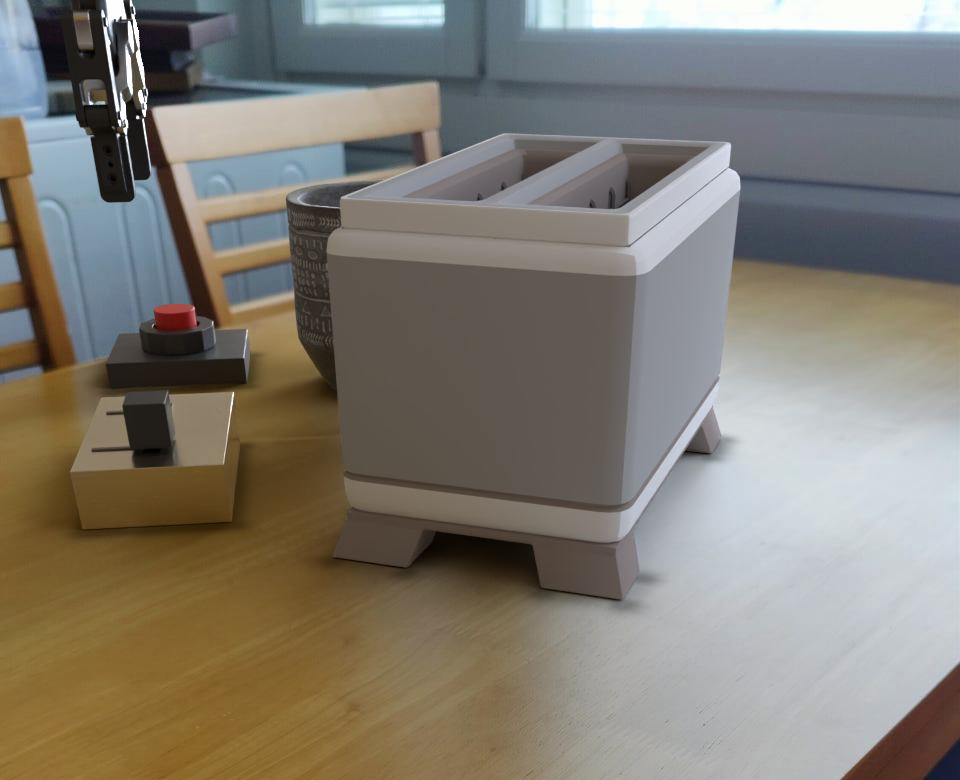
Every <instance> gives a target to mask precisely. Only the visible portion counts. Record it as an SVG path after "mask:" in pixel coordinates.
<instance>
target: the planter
mask: <svg viewBox="0 0 960 780" xmlns="http://www.w3.org/2000/svg"><path fill="white" fill-rule="evenodd" d="M384 180H385V179H371V180H369V179H367V180H354V181H353V180H352V181H342V182H331V183H322V184H313V185H309V186H305V187H301V188H298V189H296V190H293V191H291V192H289V193H288V194H287V195H286V196H285V205H286V215H287V223H288V227H287V228H288V242H289V243H288V244H289V255H290V256H289V257H290V266H291V274H292V275H291V276H292V282H293V283H292V284H293V288H294V289H293V295H294V299H293V300H294V312H295V323H296V331H297V338H298V340H299V342H300V344H301V346H302V348H303V349H304V351H305V353H306V354H307V356H308V357H309V359H310V360H311V362H312V364H313V365H314V367H315V368H316V369H317V371H318V372H319V375H320V376H322V378H323V379H324V381H325V382H326V384H327V385H328V386H329V388H330V389H332V390H334V391H336V392H337V381H336V368H335V355H334V342H333V329H332V316H331V303H330V290H329V277H328V264H327V243H328V238H329V236H330V235H331V233H332V232H333V231H334V230H336V229H338V228H340V227H342V226H341V213H340V199H341V197H343V196H345V195H348V194H350V193H353V192H356V191H358V190H361V189H363V188H366V187H368V186H371V185H373V184H376V183H378V182H381V181H384Z"/></svg>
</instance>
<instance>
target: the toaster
mask: <svg viewBox="0 0 960 780" xmlns="http://www.w3.org/2000/svg"><path fill="white" fill-rule="evenodd" d="M731 151H732V144H731V142H729V141H728V142H727V141H706V140H704V141H703V140H682V139H680V140H679V139H656V138H655V139H654V138H631V137H630V138H629V137H608V136H581V135H557V134H556V135H554V134H529V133H501V134H498V135H496V136H494V137H491V138H488V139H486V140H483V141H480V142H478V143H475V144H473V145H471V146H468V147H466V148H462V149H461V150H458V151H455V152H452V153H450V154H448V155H445V156H442V157H439V158H438V159H435V160H432V161H429V162H426V163H424V164H422V165H419V166H417V167H414V168H412V169H409V170H407V171H404V172H402V173H401V172H400V173H399V174H396V175H394V176H391V177H389V178H386V179H383V180H384V181H381V182H378V183H376V184H373V185H371V186H368V187H366V188H363V189H361V190H358V191H356V192H353V193H350V194H348V195H345V196H343V197H341V199H340V213H341V226H342V227H340V228H338V229H336V230H334V231H333V232H332V233H331V235H330V236H329V238H328V243H327V264H328V277H329V290H330V303H331V316H332V329H333V342H334V355H335V368H336V381H337V391H336V393H337V395H336V396H337V406H338V420H339V432H340V446H341V460H342V468H343V470H344V472H343V484H344V491H345V496H346V499H347V503H348V504H349V505H350V506H351V507H350V508H348V510H347V511H346V519H345V522H344V524H343V527H342V528H341V529H342V530H341V533H340V535H339V538H338V541H337V544H336V546H335V549H334V551H333V555H332V557H333V558H335V559H336V558H337V559H343V560H349V561H350V560H351V561H358V562H364V563H372V564H378V565H385V566H392V567H400V568H409V567H410V566H411V565H412V564H413V562H415V560H416V559H418V557H419V556H421V554H422V553H423V552H424V551H425V550H426V549H427V548H428V547H429V546H430V545H431V544H432V542H433V540H434V538H435V535H436V533H437V532H440V533H446V534H447V533H448V534H455V535H462V536H467V537H477V538H483V539H490V540H491V539H492V540H497V541H505V542H511V543H512V542H513V543H520V544H527V545H531V546H532V548H533V549H532V550H533V553H534V558H535V564H536V569H537V570H536V571H537V575H538V580H539V585H540V587H541V589H542V588H543V589H547V590H548V589H549V590H555V591H561V592H566V593H567V592H569V593H574V594H582V595H588V596H595V597H600V598H601V597H602V598H608V599H613V600H620V601H623V600H624V599H625V598H626V596H627V595H628V593H629V591H630V589H631V587H632V586H633V584H634V583H635V581H636V579H637V578H638V576H639V574H640V571H641V570H640V565H639V559H638V558H639V557H638V553H637V552H638V551H637V547H636V540H635V535H634V530H635V528H636V526H637V524H638V522H639V521H640V520H641V518H642V517H643V515H644V514H645V512H646V510H647V509H648V507H649V506H650V504H651V503H652V501H653V500H654V498H655V497H656V495H657V494H658V493H659V491H660V489H661V488H662V486H663V484H665V481H666V480H667V479H668V477H669V476H670V474H671V472H672V471H673V470H674V469H675V466H676V465H677V464H678V462H679V461H680V459H681V457H683V454H684V453H685V451H686V452H694V453H703V454H704V453H705V454H713V452H714V451H715V449H716V447H717V445H718V444H719V442H720V440H721V438H722V437H723V436H722V432H721V430H720V429H721V428H720V426H719V423H718V419H717V417H716V413H715V410H714V404H715V403H716V400H717V397H718V393H719V387H720V378H721V377H720V374H721V369H722V361H723V360H722V359H723V350H724V343H725V342H724V341H725V332H726V325H727V324H726V323H727V316H728V315H727V313H728V306H729V296H730V286H731V277H732V271H733V269H732V268H733V260H734V251H735V241H736V233H737V223H738V216H739V215H738V213H739V205H740V199H741V198H740V197H741V178H740V175H739V174H738V172H737V171H736V170H734V169H731V168H730V162H731Z"/></svg>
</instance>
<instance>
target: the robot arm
mask: <svg viewBox="0 0 960 780" xmlns="http://www.w3.org/2000/svg"><path fill="white" fill-rule="evenodd" d="M69 3H70V9H61V10H60V11H59V16H60V17H58V18H59V19H58V21H59V26H60V28H61V31H62V36H63V41H64V48H65V53H66V60H67V66H68V71H69V77H70V82H71V90H72V94H73V101H74V107H75V119H76V122H78V126H79V128H81V129H83V130H84V131H85V133H86V136H90V137H89V138H90V145H91V149H92V156H93V161H94V167H95V173H96V179H97V183H98V190H99V196H100V198H101V199H102V200H103V201H104V202H105V203H107V204H108V203H110V204H111V203H131V202H132V201H133V200H134V199H135V198H136V196H137V190H136V189H137V188H136V183H135V181H147V180H149V179H150V178H151V176H152V165H151V158H150V151H149V144H148V137H147V132H146V131H147V130H146V125H145V117H146V111H147V104H146V103H147V102H148V97H149V92H148V88H147V87H146V83H145V70H144V66H143V62H142V57H141V51H140V41H139V40H140V39H139V38H140V37H139V30H138V27H137V22H136V19H135V15H136V9H135V5H133V2H132V0H69ZM98 102H104V104H102V103H101V104H96V103H98ZM143 117H144V118H143Z"/></svg>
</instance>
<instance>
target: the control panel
mask: <svg viewBox="0 0 960 780" xmlns="http://www.w3.org/2000/svg"><path fill="white" fill-rule="evenodd" d="M125 397H126V396H105V397H104V396H103V397H101V398H100V400H99V402H98V404H97V407H96V409H95V411H94V414H93V416H92V419H91V421H90V423H89V426H88V428H87V431H86V433H85V435H84V437H83V440H82V443H81V445H80V447H79V449H78V452H77V454H76V457H75V458H74V461H73V464H72V466H71V469H70V471H69V475H70V478H71V483H72V487H73V492H74V497H75V501H76V506H77V511H78V515H79V520H80V524H81V525H80V526H81V529H82V530H100V529H101V530H102V529H119V528H121V529H123V528H138V527H141V528H142V527H157V526H176V525H177V526H178V525H179V526H180V525H197V524H198V525H199V524H215V523H230V522H232V521H233V512H234V504H235V497H236V496H235V495H236V487H237V478H238V470H239V469H238V468H239V458H240V451H241V437H240V436H241V435H240V431H239V430H240V429H239V422H238V414H237V406H236V399H235V398H236V397H235V392H234V391H225V392H223V391H222V392H221V391H220V392H202V393H201V392H198V393H176V394H175V393H173V394H169V397H170V403H171V410H172V416H173V422H174V428H175V436H174V440H173V444H172V448H159V449H138V450H131V449H130V446H129V440H128V435H127V430H126V424H125V419H124V413H123V408H122V405H123V402H124V399H125Z"/></svg>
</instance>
